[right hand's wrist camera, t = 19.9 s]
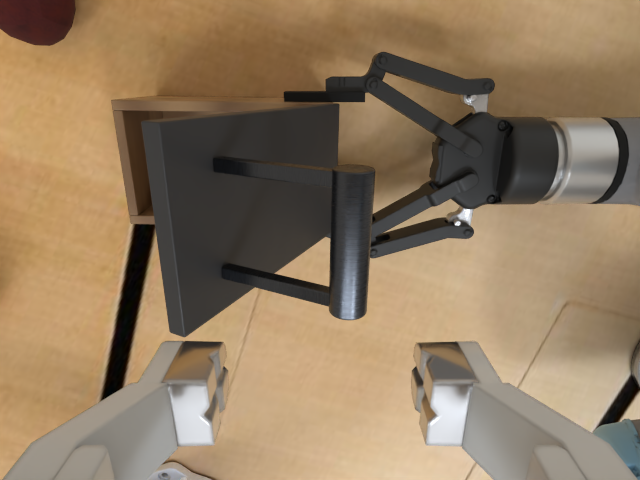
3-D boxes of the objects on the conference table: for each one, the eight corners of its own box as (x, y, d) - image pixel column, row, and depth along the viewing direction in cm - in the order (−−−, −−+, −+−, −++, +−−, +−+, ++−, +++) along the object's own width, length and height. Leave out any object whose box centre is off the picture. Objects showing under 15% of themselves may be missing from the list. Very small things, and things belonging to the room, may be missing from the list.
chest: (167, 195, 45) (130, 224, 36) (155, 95, 41) (110, 100, 32) (328, 197, 45) (330, 226, 36) (330, 98, 41) (333, 103, 32)
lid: (169, 332, 21) (334, 390, 17) (139, 120, 17) (342, 135, 13) (325, 227, 36) (430, 246, 32) (327, 103, 32) (446, 107, 28)
